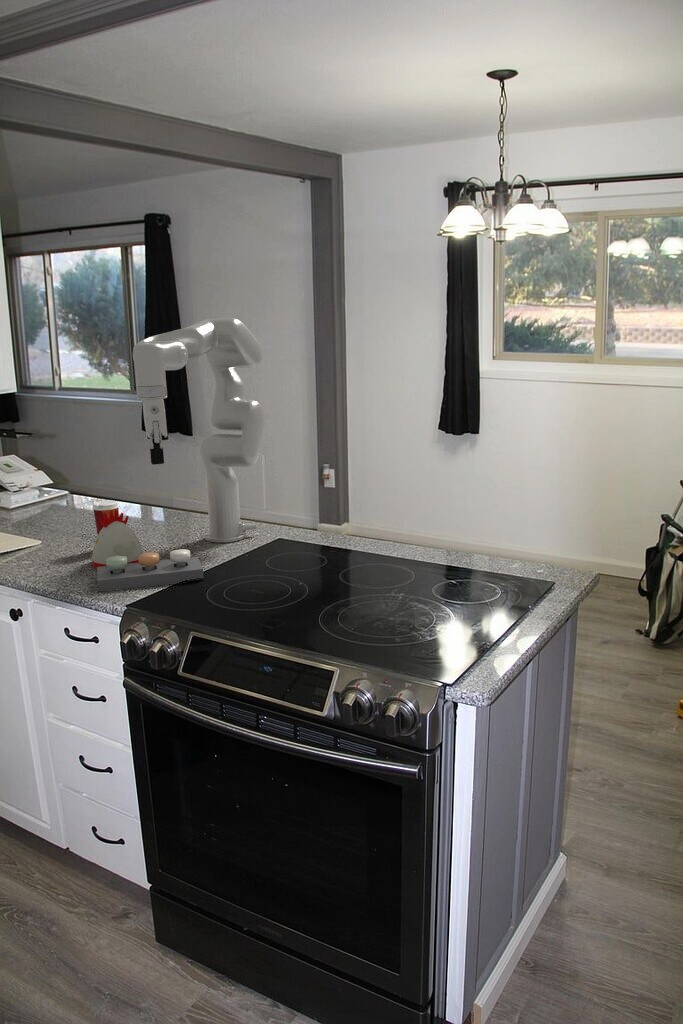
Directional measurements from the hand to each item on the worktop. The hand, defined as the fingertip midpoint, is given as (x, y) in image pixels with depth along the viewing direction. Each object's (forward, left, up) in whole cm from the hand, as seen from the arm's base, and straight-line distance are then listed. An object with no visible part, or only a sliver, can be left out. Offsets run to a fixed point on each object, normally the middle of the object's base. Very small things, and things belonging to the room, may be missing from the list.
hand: (157, 463), depth 220 cm
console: (+5, +6, -29) cm, 30 cm away
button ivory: (-4, +6, -28) cm, 28 cm away
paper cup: (+14, -28, -29) cm, 43 cm away
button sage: (+13, +6, -28) cm, 31 cm away
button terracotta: (+5, +6, -28) cm, 29 cm away
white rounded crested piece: (+12, -13, -29) cm, 34 cm away
